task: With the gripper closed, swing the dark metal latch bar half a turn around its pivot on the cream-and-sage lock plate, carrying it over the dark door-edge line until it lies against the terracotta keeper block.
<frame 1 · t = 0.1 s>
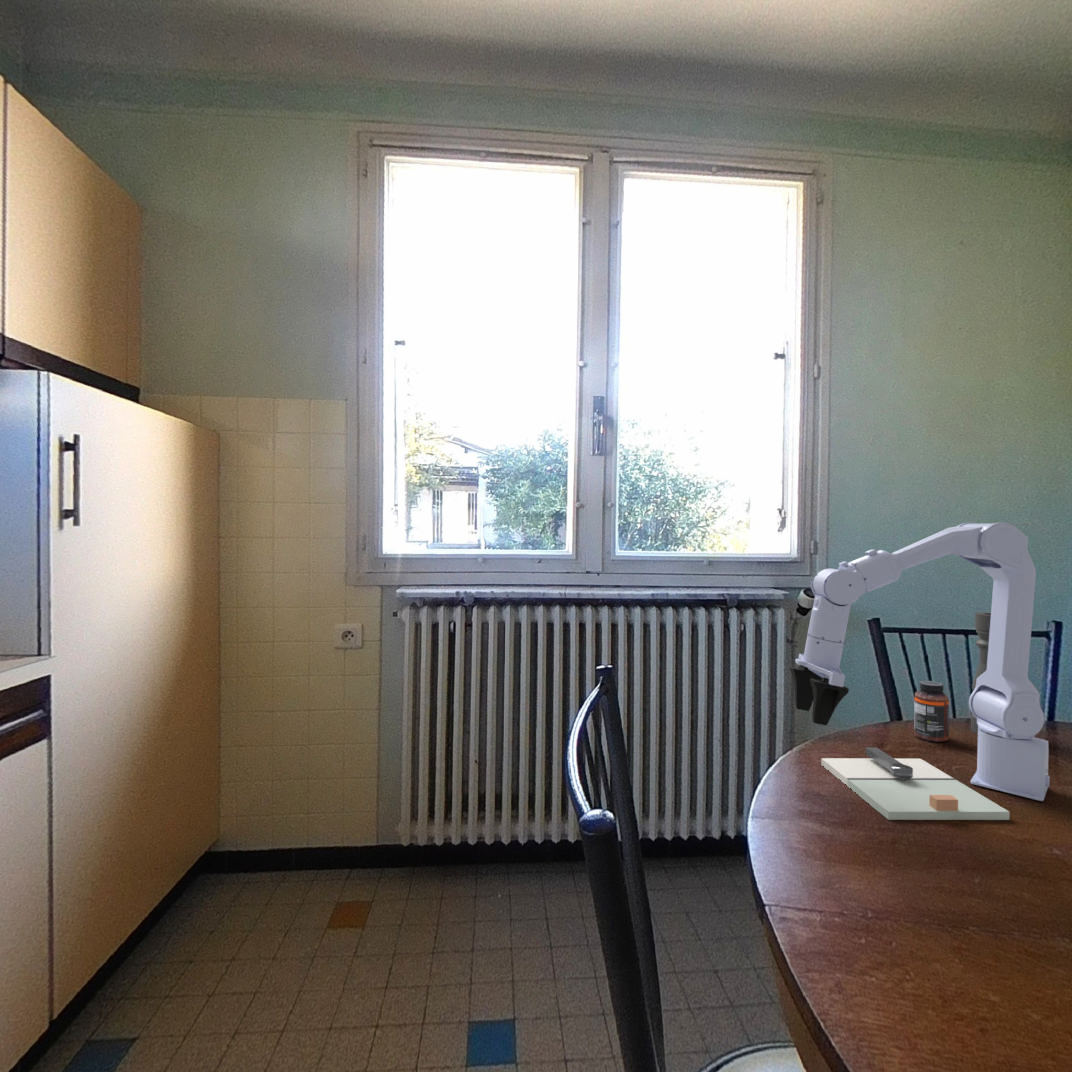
hand: (810, 716, 105), 11 cm above the table, tool pointing down, fingers open, 7 cm apart
candle holder: (989, 734, 128), on the table
lock plate: (901, 786, 101), on the table
latch bar: (888, 762, 105), point 3 cm above the table, hinge at 0.0°
supplement bottle: (931, 738, 125), on the table
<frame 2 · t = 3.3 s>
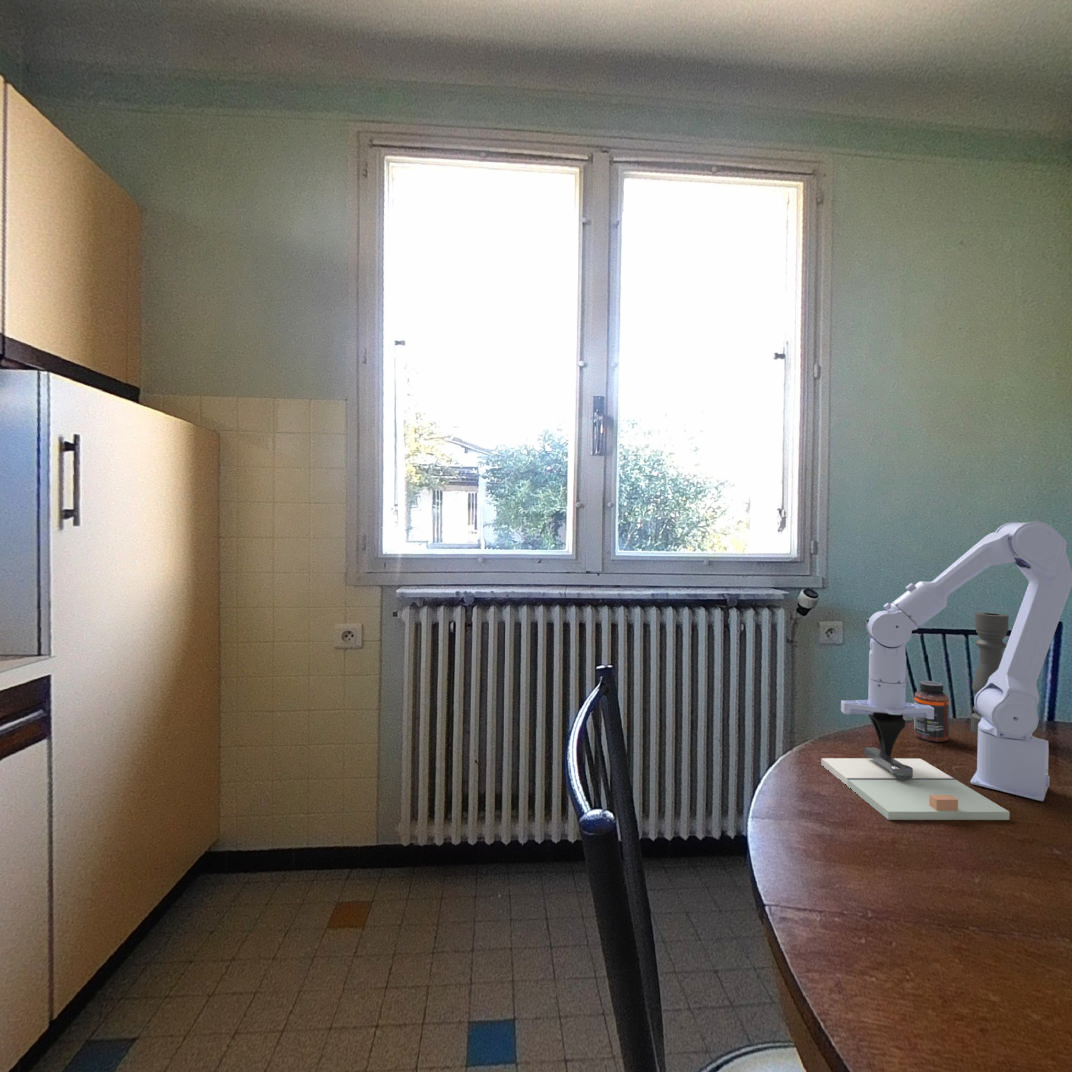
hand: (885, 755, 108), 2 cm above the table, tool pointing down, fingers closed, pressing on latch bar
latch bar: (887, 762, 105), point 3 cm above the table, hinge at 1.2°, touching gripper
everything else where it was.
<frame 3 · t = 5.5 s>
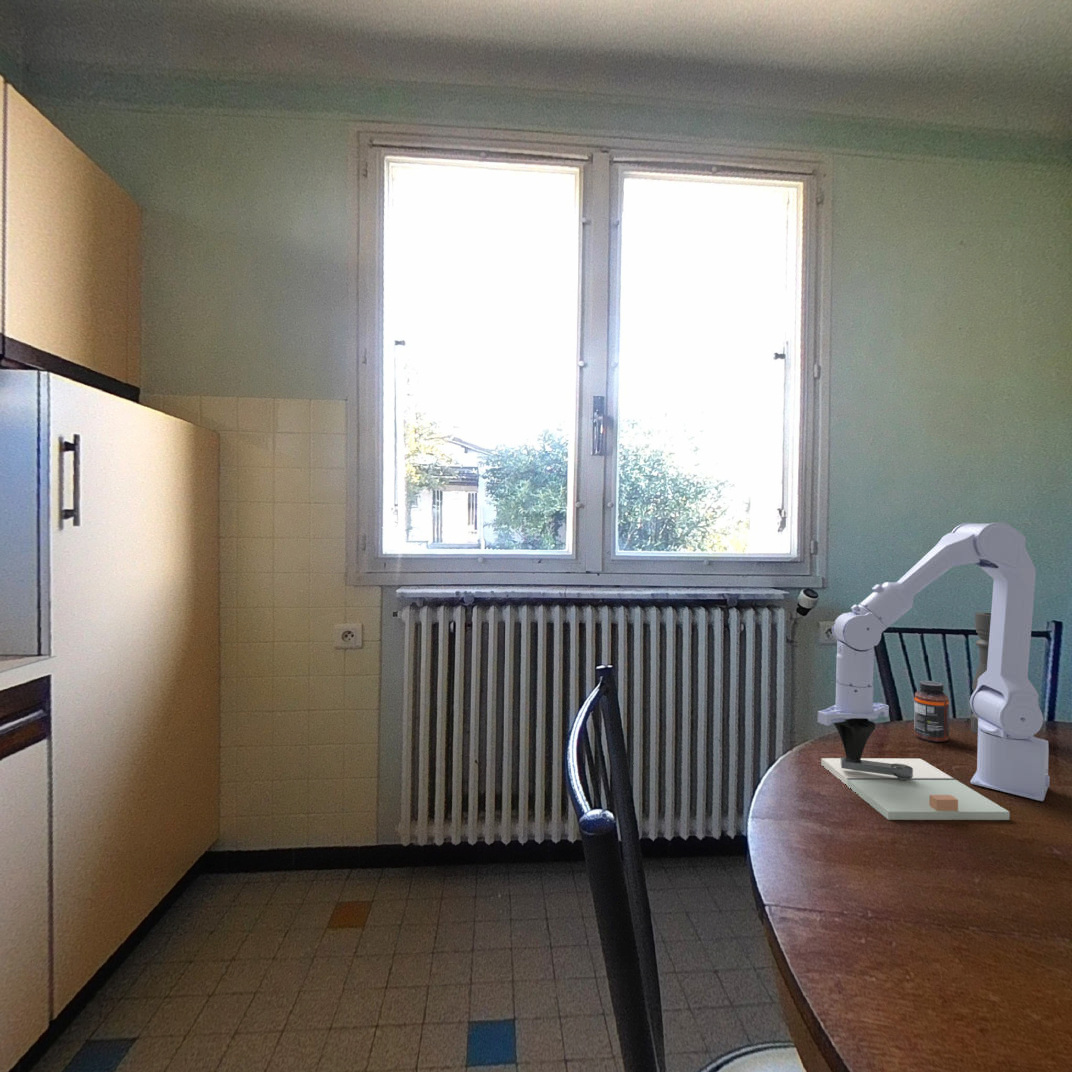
hand: (852, 761, 106), 2 cm above the table, tool pointing down, fingers closed, pressing on latch bar
latch bar: (876, 767, 103), point 3 cm above the table, hinge at 67.5°, touching gripper
everything else where it was.
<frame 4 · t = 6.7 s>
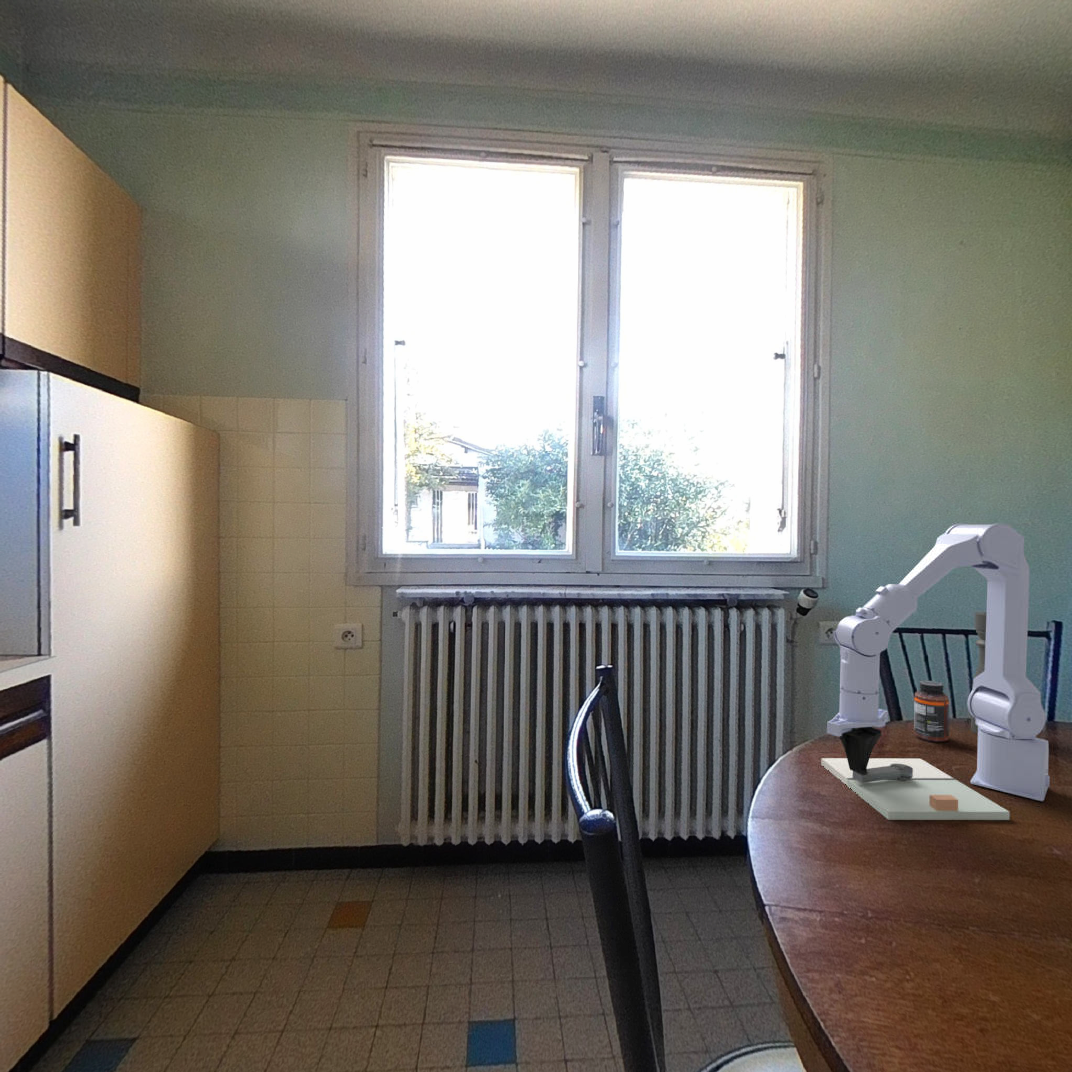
hand: (857, 771, 101), 2 cm above the table, tool pointing down, fingers closed, pressing on latch bar
latch bar: (883, 773, 100), point 3 cm above the table, hinge at 105.7°, touching gripper
everything else where it was.
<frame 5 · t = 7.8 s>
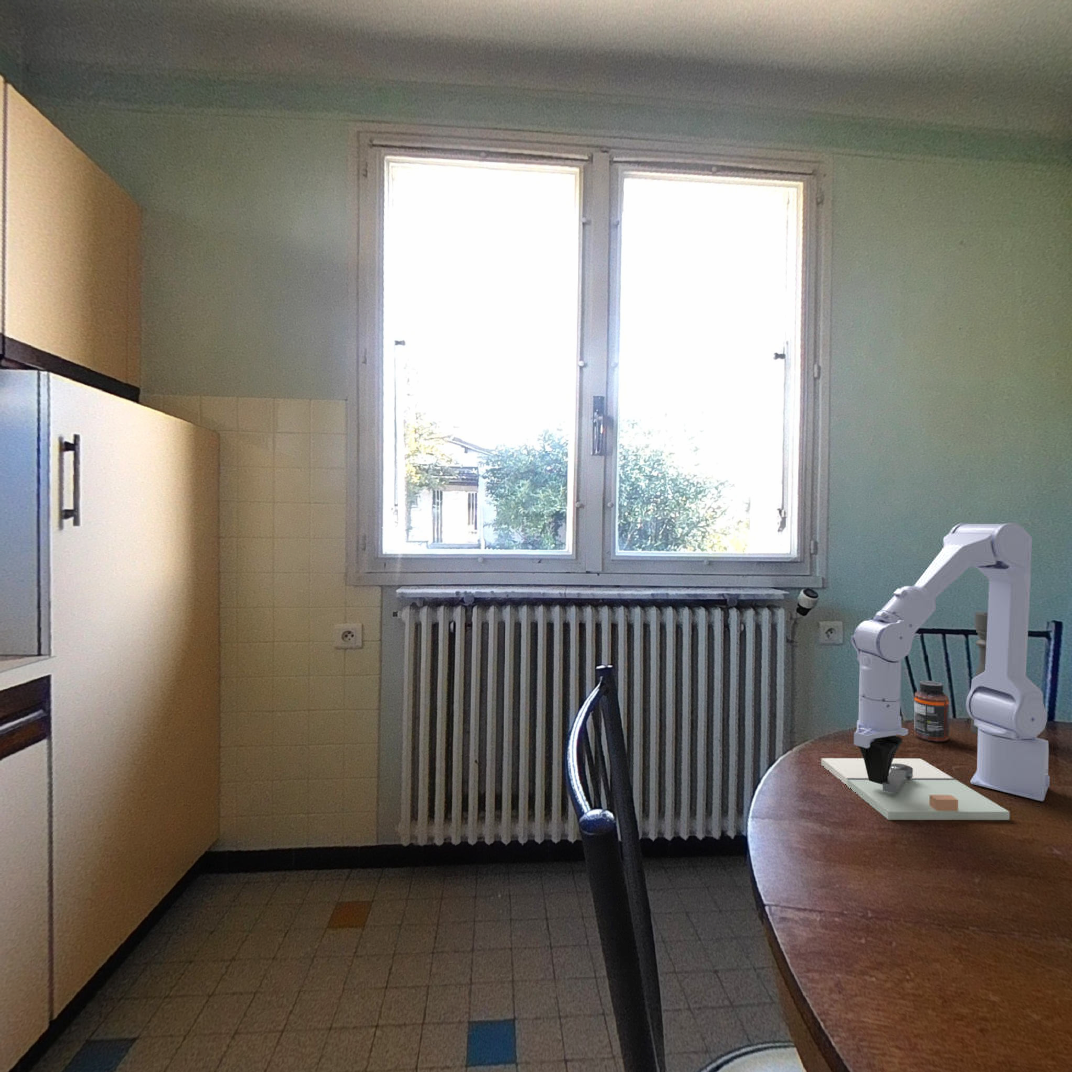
hand: (877, 781, 97), 2 cm above the table, tool pointing down, fingers closed, pressing on latch bar
latch bar: (896, 777, 99), point 3 cm above the table, hinge at 138.6°, touching gripper
everything else where it was.
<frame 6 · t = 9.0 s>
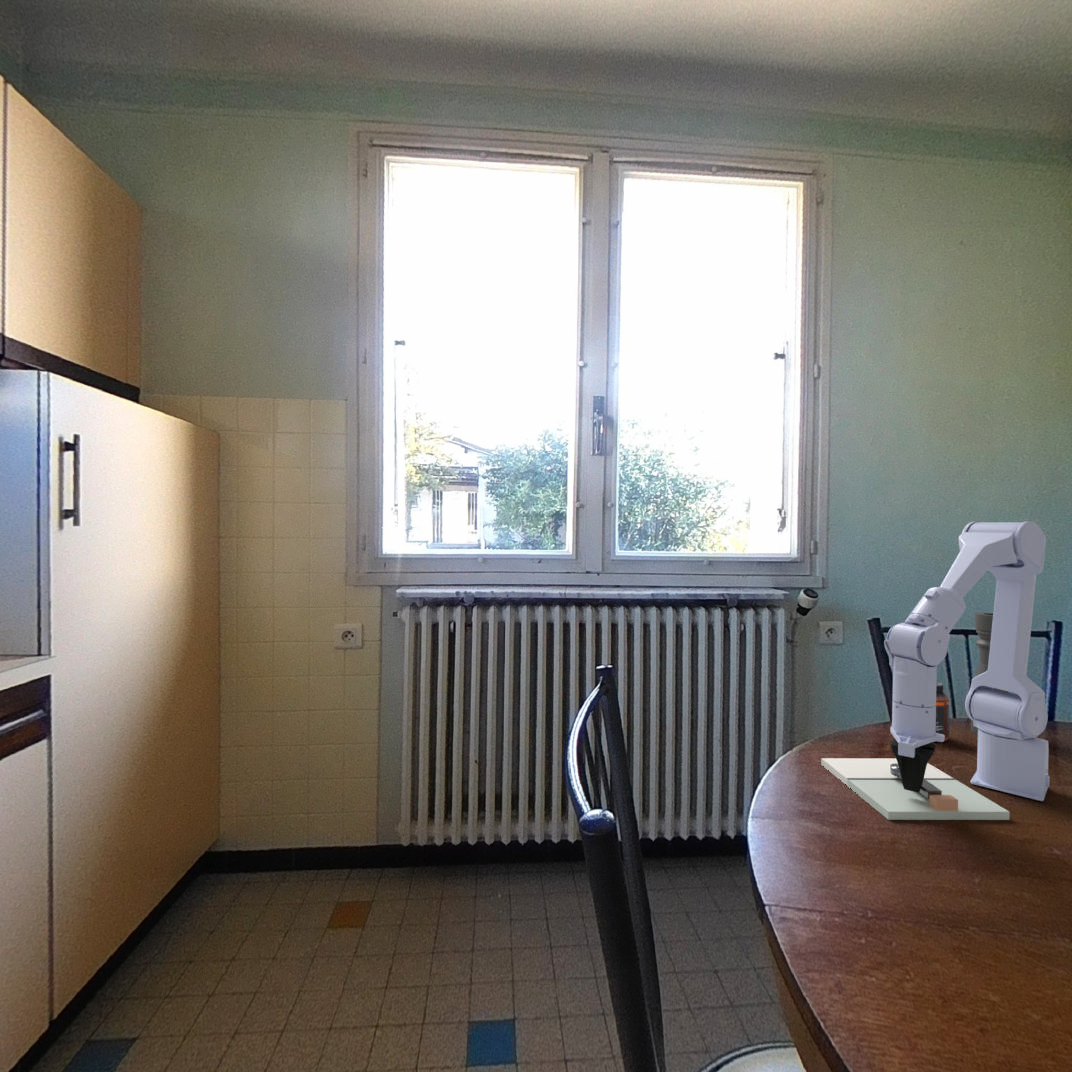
hand: (912, 789, 94), 2 cm above the table, tool pointing down, fingers closed
latch bar: (914, 780, 98), point 3 cm above the table, hinge at 177.2°, touching gripper
everything else where it was.
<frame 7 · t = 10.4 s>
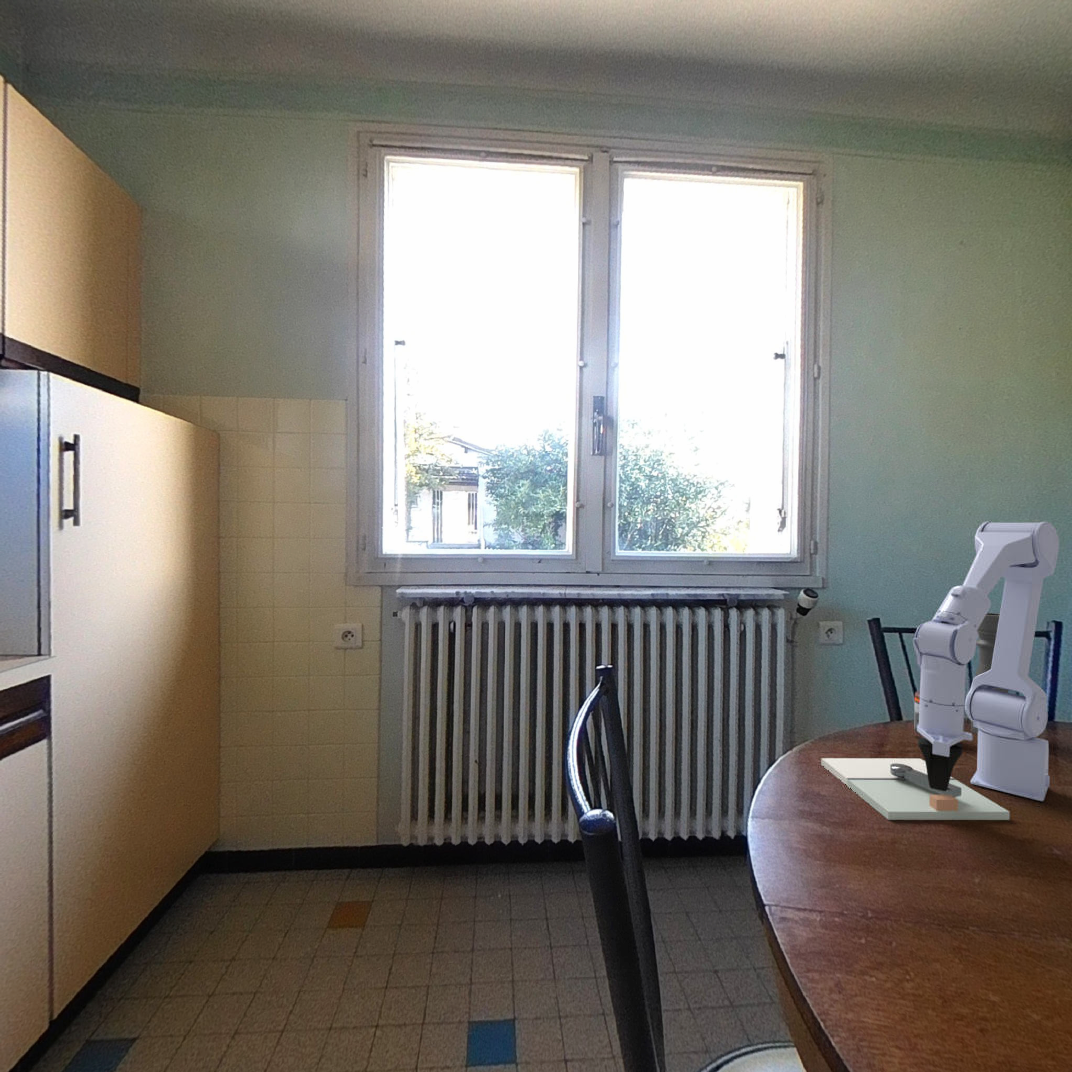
hand: (937, 788, 94), 3 cm above the table, tool pointing down, fingers closed, pressing on latch bar
latch bar: (923, 779, 98), point 3 cm above the table, hinge at 202.3°, touching gripper
everything else where it was.
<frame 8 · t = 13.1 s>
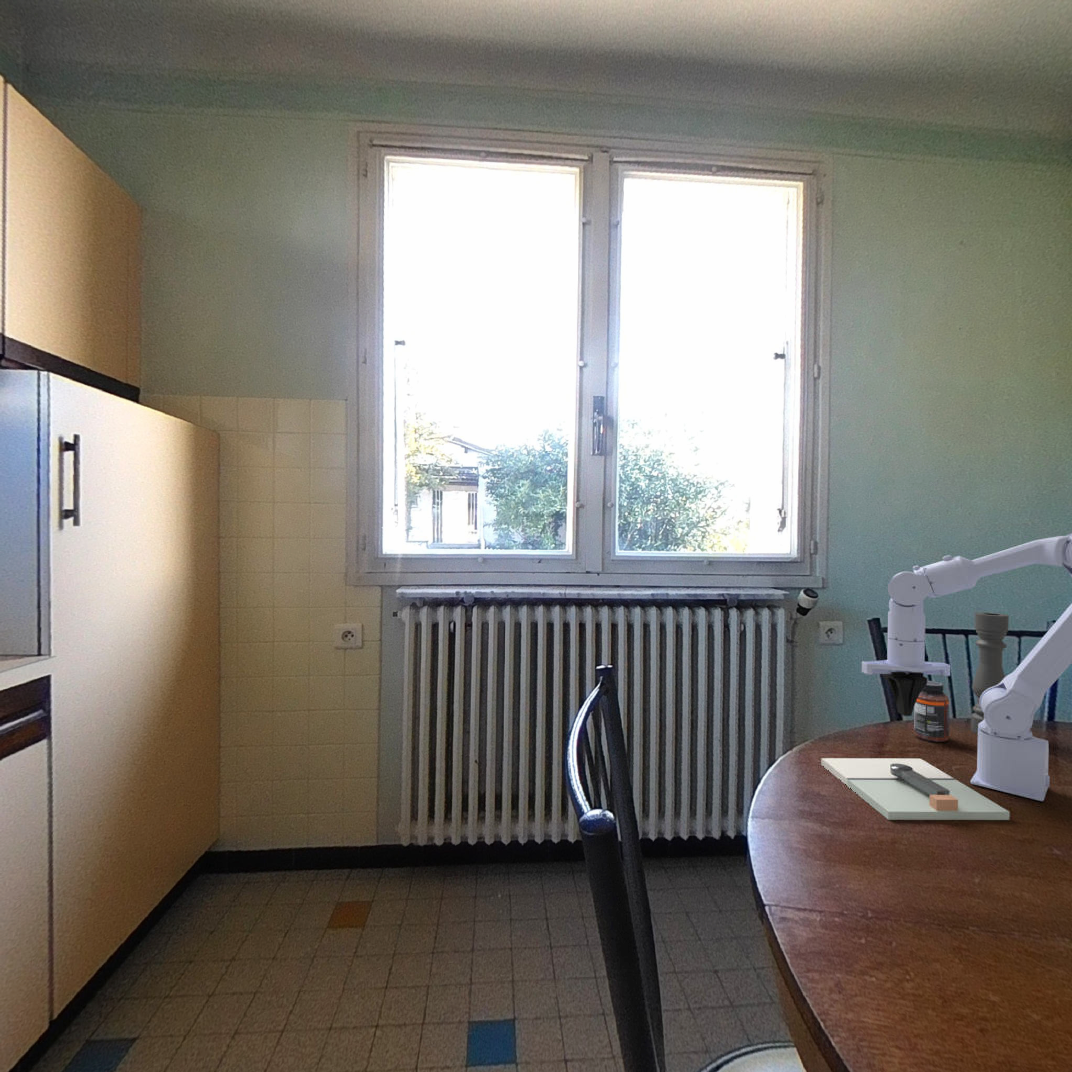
hand: (904, 714, 110), 9 cm above the table, tool pointing down, fingers closed
latch bar: (917, 780, 98), point 3 cm above the table, hinge at 185.5°
everything else where it was.
at the end: latch bar at +186° (first picture: +0°); supplement bottle moved 0.2 cm from its start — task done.
